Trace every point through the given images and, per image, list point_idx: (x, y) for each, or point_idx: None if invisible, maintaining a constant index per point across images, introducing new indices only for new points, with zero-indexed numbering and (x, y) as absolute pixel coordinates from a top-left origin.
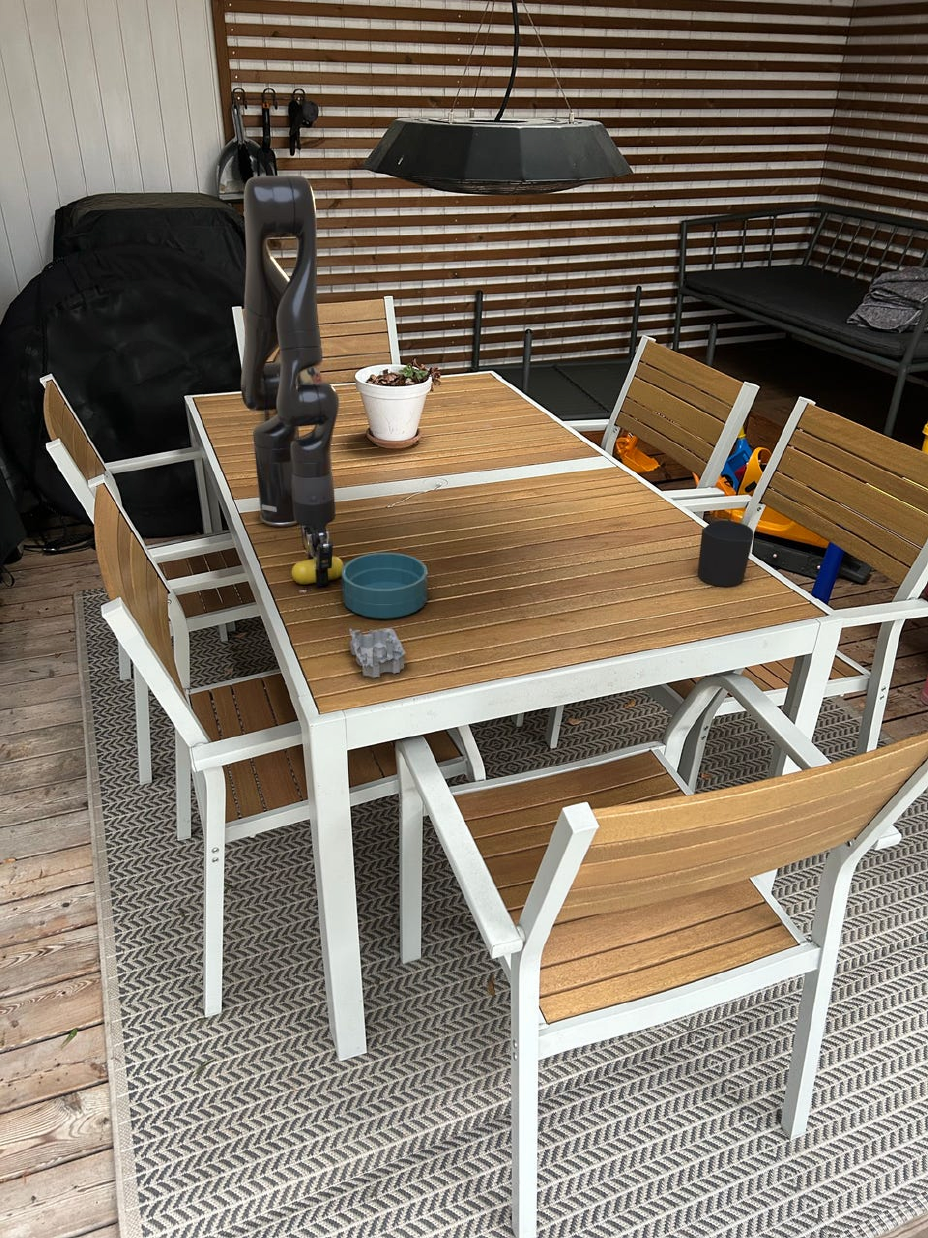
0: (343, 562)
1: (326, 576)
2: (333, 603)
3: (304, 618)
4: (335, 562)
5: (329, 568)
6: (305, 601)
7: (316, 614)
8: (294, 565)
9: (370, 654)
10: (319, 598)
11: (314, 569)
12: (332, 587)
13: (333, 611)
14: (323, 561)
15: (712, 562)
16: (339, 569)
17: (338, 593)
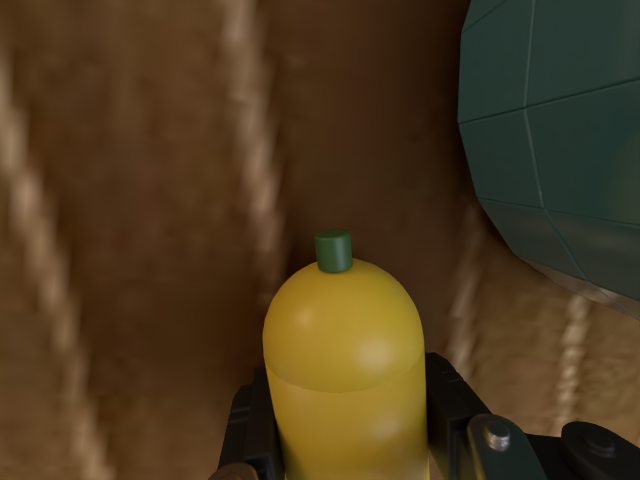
0: (336, 271)
1: (466, 386)
2: (573, 328)
3: (630, 439)
4: (412, 356)
5: (425, 381)
6: None
7: (624, 398)
8: None
9: None
10: (506, 379)
11: (426, 473)
12: (425, 316)
13: (635, 336)
14: (400, 448)
15: None
16: (415, 307)
17: (494, 296)
